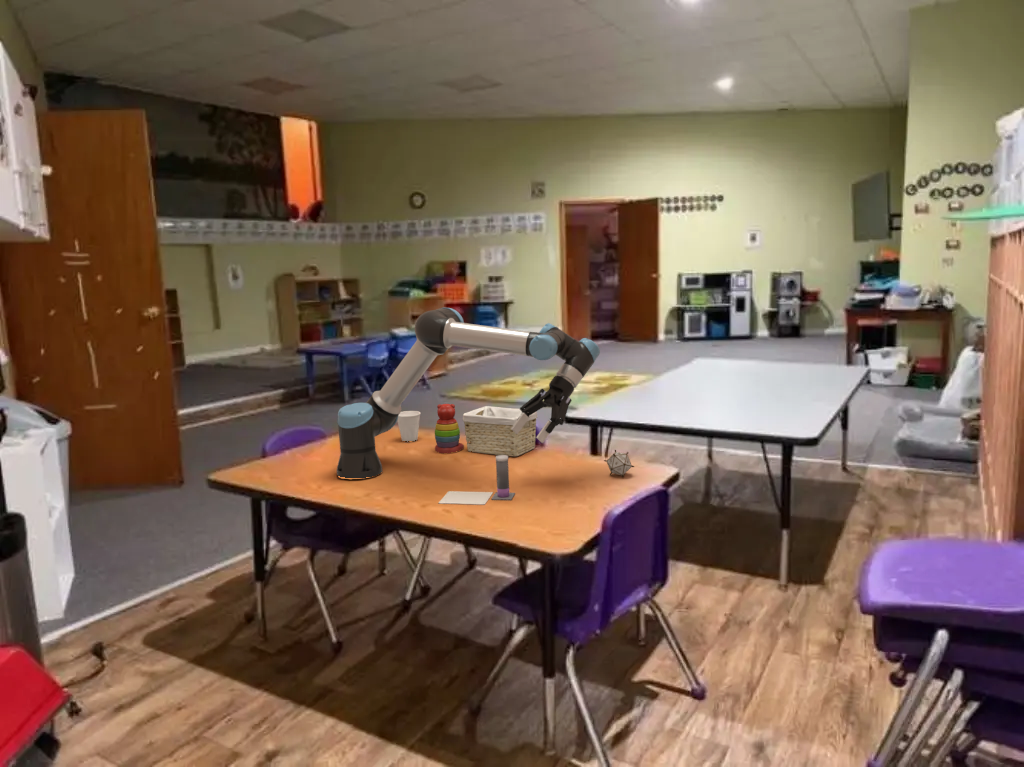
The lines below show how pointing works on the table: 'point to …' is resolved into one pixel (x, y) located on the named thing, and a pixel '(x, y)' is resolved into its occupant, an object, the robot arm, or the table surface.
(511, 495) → the rest pad
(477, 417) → the storage basket
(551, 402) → the robot arm
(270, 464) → the table surface
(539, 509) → the table surface
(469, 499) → the paper
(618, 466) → the game die
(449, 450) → the stacking bear
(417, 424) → the cup
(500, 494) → the marker
